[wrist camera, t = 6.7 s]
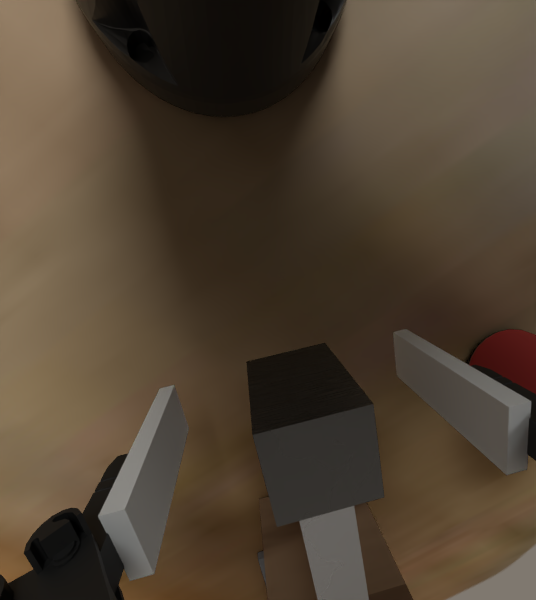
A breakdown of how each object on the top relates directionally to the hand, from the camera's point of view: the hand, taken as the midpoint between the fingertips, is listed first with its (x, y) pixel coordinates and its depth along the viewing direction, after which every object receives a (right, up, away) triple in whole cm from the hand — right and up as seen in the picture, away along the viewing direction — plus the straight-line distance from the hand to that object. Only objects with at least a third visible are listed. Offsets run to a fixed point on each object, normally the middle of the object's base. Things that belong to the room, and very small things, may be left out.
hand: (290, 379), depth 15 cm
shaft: (+2, -9, +2) cm, 10 cm away
